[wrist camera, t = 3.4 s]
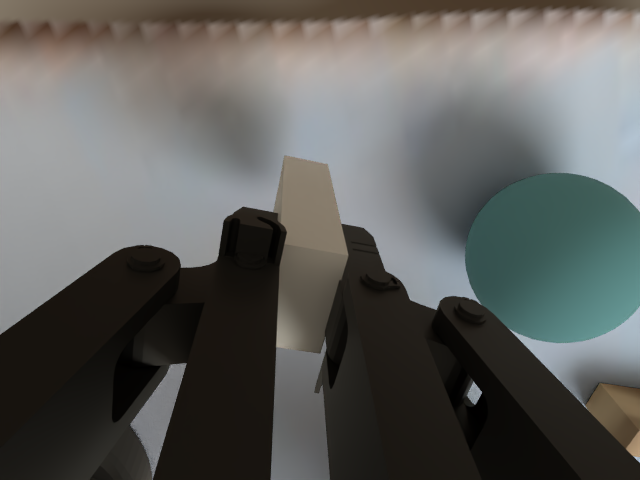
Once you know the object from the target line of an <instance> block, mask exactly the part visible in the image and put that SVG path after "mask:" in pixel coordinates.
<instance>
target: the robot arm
mask: <svg viewBox="0 0 640 480" xmlns="http://www.w3.org/2000/svg"><path fill="white" fill-rule="evenodd" d="M325 337H326V347H327V349H326V352H325V356H324V359H323V363H322V366H321V369H320V373H319V376H318V380H317V383H316V387H315V391H314V393H319V391H320V388H321V386H322V385H323V394H324V407H325V420H326V433H327V445H328V458H329V471H330V480H640V463H639V462H638V461H637V460H636V459H635V458H634V457H633V456H632V455H631V454H630V453H629V452H628V451H627V450H626V449H625V448H624V447H623V446H622V445H621V443H620V442H619V441H618V440H617V439H616V438H615V437H614V436H613V435H612V434H611V433H610V432H609V431H608V430H607V429H606V428H605V427H604V426H603V425H602V424H601V423H600V422H599V421H598V420H597V419H596V418H595V417H594V416H593V415H592V414H591V413H590V412H589V411H588V410H587V409H586V408H585V407H584V406H583V405H582V404H581V403H580V402H579V401H578V399H577V398H576V397H575V396H574V395H573V394H572V393H571V392H570V391H569V390H568V389H567V388H566V387H565V386H564V385H563V384H562V383H561V382H560V381H559V380H558V379H557V378H556V377H555V376H554V375H553V374H552V373H551V372H550V371H549V370H548V369H547V368H546V367H545V366H544V365H543V364H542V363H541V362H540V361H539V360H538V359H537V358H536V357H535V356H534V354H533V353H532V352H531V351H530V350H529V349H528V348H527V347H526V346H525V345H524V344H523V343H522V342H521V341H520V340H519V339H518V338H517V337H516V336H515V335H514V334H513V333H512V332H511V331H510V330H509V329H508V328H507V327H506V326H505V325H504V324H503V323H502V322H501V321H500V320H499V319H498V318H497V317H496V316H495V315H494V314H493V313H492V312H491V311H490V310H488V309H487V308H486V307H484V306H482V305H481V304H479V303H478V302H477V301H474V300H472V299H470V300H469V298H465V297H456V296H451V297H445V298H443V299H442V300H441V301H440V303H439V306H438V308H437V310H435V309H432V308H429V307H426V306H423V305H421V304H418V303H415V302H413V301H411V300H410V299H409V296H408V294H407V291H406V289H405V287H404V285H403V284H402V282H401V281H400V280H399V279H397V278H396V277H395V276H393V275H392V274H390V273H388V272H386V271H385V269H384V266H383V263H382V260H381V258H380V255H379V252H378V249H377V248H376V243H375V241H374V238H373V236H372V235H371V234H369V233H368V232H367V231H366V230H365V229H364V228H361V227H356V226H350V225H345V224H341V220H340V216H339V212H338V207H337V203H336V199H335V194H334V190H333V185H332V181H331V177H330V172H329V168H328V164H324V163H319V162H314V161H309V160H305V159H300V158H295V157H290V156H284V161H283V166H282V171H281V176H280V181H279V186H278V191H277V196H276V201H275V206H274V211H273V212H269V211H263V210H258V209H253V208H247V207H242V208H241V209H239V210H237V211H236V212H234V214H233V215H230V216H228V217H227V218H226V219H225V220H224V223H223V229H222V236H221V242H220V249H219V256H218V259H217V261H216V262H214V263H212V264H210V265H206V266H202V267H193V268H181V264H180V260H179V258H178V257H177V256H176V255H174V254H173V253H172V252H170V251H167V250H165V249H163V248H158V247H154V246H149V245H145V246H144V245H137V246H133V247H127V248H123V249H121V250H119V251H117V252H115V253H113V254H112V255H110V256H109V257H108V258H106V259H105V260H103V261H102V262H101V263H99V264H98V265H96V266H95V267H94V268H92V269H91V270H90V271H88V272H87V273H85V274H84V275H83V276H81V277H80V278H78V279H77V280H76V281H74V282H73V283H71V284H70V285H69V286H67V287H66V288H65V289H63V290H62V291H60V292H59V293H58V294H56V295H55V296H53V297H52V298H51V299H49V300H48V301H46V302H45V303H44V304H42V305H41V306H40V307H38V308H37V309H35V310H34V311H33V312H31V313H30V314H28V315H27V316H26V317H24V318H23V319H21V320H20V321H19V322H17V323H16V324H15V325H13V326H12V327H10V328H9V329H8V330H6V331H5V332H3V333H2V334H1V335H0V480H152V473H151V467H150V463H149V460H148V457H147V454H146V452H145V450H144V448H143V446H142V444H141V442H140V441H139V439H138V438H137V436H136V435H135V433H134V432H133V431H132V429H131V428H130V427H129V425H130V423H131V422H132V421H133V419H134V418H135V417H136V415H137V414H138V412H139V411H140V410H141V408H142V407H143V406H144V404H145V403H146V401H147V400H148V399H149V397H150V396H151V395H152V393H153V392H154V390H155V389H156V388H157V386H158V385H159V384H160V382H161V381H162V380H163V378H164V377H165V375H166V374H167V371H168V369H169V366H170V364H180V363H187V365H186V368H185V372H184V375H183V378H182V382H181V385H180V389H179V392H178V395H177V399H176V402H175V406H174V409H173V413H172V416H171V419H170V423H169V426H168V430H167V433H166V436H165V440H164V443H163V447H162V450H161V453H160V457H159V460H158V464H157V467H156V471H155V474H154V477H153V480H270V478H271V455H272V432H273V409H274V386H275V363H276V347H279V348H285V349H292V350H299V351H306V352H313V353H321V349H322V346H323V342H324V339H325ZM473 381H474V382H475V384H476V385H477V386H478V387H479V389H480V390H481V391H482V394H481V396H480V398H479V400H478V402H477V403H476V405H474V404H473V403H472V402H471V401H470V400H469V398H468V397H467V394H468V392H469V390H470V387H471V385H472V383H473Z"/></svg>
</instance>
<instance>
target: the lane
mask: <svg viewBox="0 0 640 480" xmlns="http://www.w3.org/2000/svg"><path fill="white" fill-rule="evenodd" d="M585 406H586V408H587V409H588V410H589V412H590V413H591V414H592V415H593V416H594V417H595V418H596V419H597V420H598V421H599V422H600V423H601V424H602V425H603V426H604V427H605V428H606V429H607V430H608V431H609V432H610V433H611V434H612V435H613V436H614V437H615V438H616V439H617V440H618V441H619V442H620V443H621V445H622V446H623V447H624V448H625V449H626V450H627V451H628V452H629V453H630V454H631V455H632V456H636V457H640V389H638V388H631V387H624V386H617V385H610V384H604V383H599V385H598V386H597V388H596V390H595V391H594V393H593V394H592V396H591V397H590V399H589V401H588V402H587V404H586V405H585Z"/></svg>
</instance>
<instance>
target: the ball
mask: <svg viewBox="0 0 640 480" xmlns="http://www.w3.org/2000/svg"><path fill="white" fill-rule="evenodd" d="M465 263H466V271H467V275H468V278H469V282H470V285H471V287H472V289H473V291H474V293H475V295H476V297H477V298H478V300H479V301H480V303H481V304H482V306H484V307H486V308H487V309H488V310H490V311H491V312H492V313H493V314H494V315H495V316H496V317H497V318H498V319H499V320H500V321H501V322H502V323H503V324H504V325H505V326H506V327H507V328H509V329H511V330H512V331H514V332H516V333H518V334H521V335H523V336H526V337H529V338H532V339H535V340H540V341H545V342H553V343H570V342H579V341H585V340H589V339H592V338H595V337H598V336H600V335H603V334H605V333H607V332H609V331H611V330H613V329H615V328H616V327H618V326H619V325H621V324H622V323H623V322H625V321H626V320H627V319H628V318H629V317H630V316H631V315H632V314H633V313H634V312H635V311H636V310H637V309H638V308H639V306H640V212H639V211H638V209H637V208H636V207H635V206H634V205H633V204H632V203H631V202H630V201H629V200H628V199H627V198H626V197H625V196H623V195H622V194H621V193H619V192H618V191H616V190H615V189H614V188H612V187H610V186H608V185H606V184H604V183H602V182H600V181H598V180H595V179H592V178H589V177H586V176H581V175H575V174H569V173H549V174H541V175H537V176H532V177H529V178H526V179H523V180H520V181H517V182H515V183H513V184H511V185H509V186H508V187H506V188H504V189H503V190H501V191H500V192H499V193H497V194H496V195H495V196H493V197H492V198H491V199H490V200H489V201H488V202H487V203H486V204H485V206H484V207H483V208H482V209H481V210H480V212H479V213H478V215H477V217H476V218H475V220H474V222H473V224H472V226H471V229H470V232H469V235H468V238H467V243H466V250H465Z"/></svg>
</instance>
